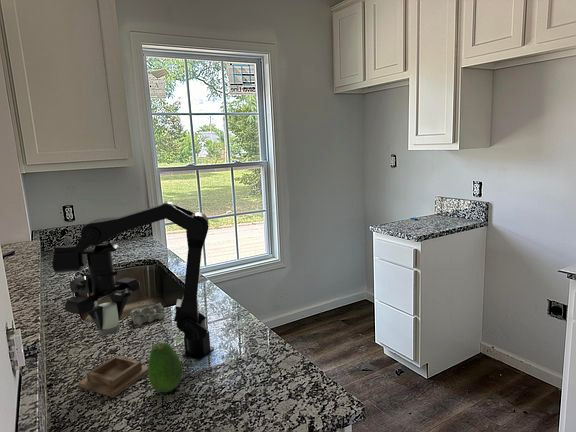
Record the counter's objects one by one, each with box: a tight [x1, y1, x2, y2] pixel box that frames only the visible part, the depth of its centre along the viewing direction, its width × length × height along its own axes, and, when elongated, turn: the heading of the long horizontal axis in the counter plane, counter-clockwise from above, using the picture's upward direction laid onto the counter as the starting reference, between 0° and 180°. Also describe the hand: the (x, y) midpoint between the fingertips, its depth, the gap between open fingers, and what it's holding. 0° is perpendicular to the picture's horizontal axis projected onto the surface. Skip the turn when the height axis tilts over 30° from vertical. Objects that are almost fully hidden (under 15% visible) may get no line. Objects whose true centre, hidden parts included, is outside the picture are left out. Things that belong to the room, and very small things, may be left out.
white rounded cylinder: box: [98, 301, 121, 336], centre depth 104 cm, size 5×5×7 cm
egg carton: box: [129, 302, 166, 326], centre depth 134 cm, size 11×8×4 cm
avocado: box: [147, 342, 184, 394], centre depth 93 cm, size 8×8×12 cm
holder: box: [77, 355, 149, 398], centre depth 99 cm, size 12×12×3 cm
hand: (109, 324), depth 104 cm, fingers closed on white rounded cylinder, 5 cm apart
